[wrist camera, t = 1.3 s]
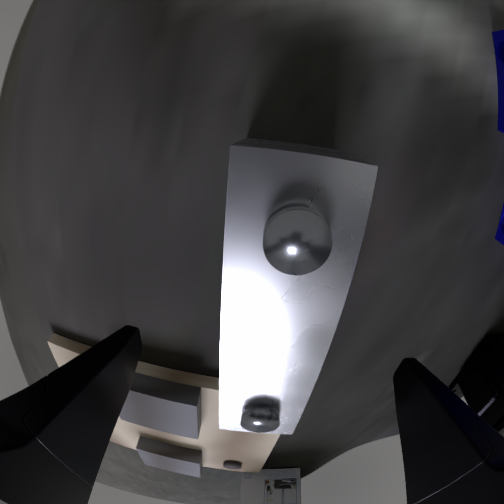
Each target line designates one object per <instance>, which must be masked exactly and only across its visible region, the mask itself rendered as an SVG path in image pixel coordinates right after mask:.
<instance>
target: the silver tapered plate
mask: <svg viewBox="0 0 504 504" xmlns="http://www.w3.org/2000/svg"><path fill="white" fill-rule="evenodd" d="M377 170H378V166H376V165H374V164H371V163H369V162H366V161H364V160H361V159H359V158H356V157H354V156H351V155H349V154H346V153H344V152H341V151H338V150H336V149H331V148H326V147H320V146H313V145H306V144H299V143H292V142H284V141H276V140H266V139H256V138H245V139H243V140H240V141H238V142H236V143H234V144H232V145H230V156H229V169H228V183H227V198H226V214H225V232H224V251H223V272H222V296H221V326H220V370H219V429H224V430H233V431H242V432H253V433H268V434H293V432H294V430H295V428H296V426H297V423H298V421H299V419H300V417H301V415H302V413H303V410H304V408H305V406H306V404H307V401H308V399H309V397H310V395H311V392H312V390H313V387H314V385H315V383H316V380H317V378H318V375H319V373H320V370H321V368H322V365H323V363H324V360H325V358H326V355H327V352H328V350H329V347H330V344H331V341H332V339H333V336H334V333H335V330H336V327H337V324H338V321H339V319H340V316H341V312H342V309H343V306H344V303H345V300H346V297H347V294H348V290H349V287H350V284H351V280H352V277H353V273H354V270H355V266H356V263H357V259H358V255H359V252H360V248H361V244H362V240H363V236H364V232H365V228H366V223H367V219H368V215H369V210H370V206H371V201H372V196H373V191H374V186H375V181H376V175H377Z"/></svg>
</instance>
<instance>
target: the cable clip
mask: <svg viewBox="0 0 504 504" xmlns="http://www.w3.org/2000/svg"><path fill="white" fill-rule="evenodd" d="M492 36H493V42H494V49H495V57H496V67H497V80H498V130H499V131H501V132H503V133H504V30H500V31H495V32H492ZM495 239H496V240H497V241H499V242H500V243H502V244H503V245H504V204H503V209H502V213H501V217H500V221H499V225H498V229H497V233H496V236H495Z"/></svg>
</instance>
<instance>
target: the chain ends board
mask: <svg viewBox="0 0 504 504" xmlns="http://www.w3.org/2000/svg"><path fill="white" fill-rule="evenodd" d="M47 342H48V344H49V347H50V349H51V351H52V353H53V356H54V358H55V360H56V362H57V364H58V366H59V367H61V366H62V365H64V364H65V363H67V362H69V361H70V360H72V359H73V358H75V357H77V356H78V355H80V354H81V353H83V352H84V351H86V350H88V349H89V348H91V346H88V345H85V344H82V343H79V342H76V341H73V340H71V339H68V338H65V337H63V336H60V335H58V334H55V333H53V334H52V336H51V337H50V338H49V340H48V341H47ZM279 436H280V434H268V433H253V432H242V431H233V430H224V429H219V378H217V377H211V376H205V375H199V374H194V373H189V372H184V371H179V370H174V369H170V368H165V367H161V366H157V365H153V364H149V363H145V362H141V361H138V364H137V368H136V371H135V374H134V378H133V381H132V385H131V388H130V391H129V393H128V396H127V398H126V401H125V403H124V406H123V408H122V410H121V413H120V415H119V418H118V420H117V423H116V425H115V428H114V430H113V433H112V436H111V438H110V441H112V442H114V443H117V444H120V445H123V446H126V447H129V448H132V449H135V450H137V451H138V453H139V455H140V457H141V458H142V460H143V462H144V463H145V464H146V465H149V466H153V467H156V468H160V469H164V470H168V471H172V472H176V473H181V474H185V475H190V476H195V477H201V472H202V466H205V467H211V468H217V469H225V470H232V471H241V472H252V473H259V472H260V470H261V469H262V467H263V465H264V463H265V462H266V460H267V458H268V456H269V455H270V453H271V451H272V449H273V447H274V445H275V444H276V442H277V440H278V438H279Z"/></svg>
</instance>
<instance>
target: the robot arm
mask: <svg viewBox="0 0 504 504" xmlns="http://www.w3.org/2000/svg"><path fill="white" fill-rule="evenodd" d="M141 351H142V343H141V337H140V331H139V329H138V328H137V327H134V326H130V325H126V326H124V327H123V328H121V329H119V330H118V331H116V332H115V333H113V334H111V335H110V336H108V337H107V338H105V339H103V340H102V341H100V342H99V343H97V344H96V345H94V346H92V347H91V348H89V349H88V350H86V351H84V352H83V353H81V354H80V355H78V356H77V357H75V358H73V359H72V360H70V361H69V362H67V363H65V364H64V365H62V366H61V367H59V368H58V369H56V370H54V371H53V372H51V373H50V374H48V376H45V377H43V378H42V379H40V380H38V381H37V382H35V383H33V384H32V385H30V386H28V387H27V388H25V389H23V390H21V391H19V392H17V393H15V394H13V395H11V396H9V397H7V398H5V399H3V400H1V401H0V504H88V500H89V497H90V494H91V491H92V487H93V485H94V482H95V479H96V476H97V473H98V471H99V468H100V465H101V462H102V459H103V457H104V454H105V451H106V449H107V446H108V443H109V441H110V438H111V436H112V433H113V430H114V428H115V425H116V423H117V420H118V418H119V415H120V413H121V410H122V408H123V406H124V403H125V401H126V398H127V396H128V393H129V391H130V388H131V385H132V381H133V378H134V374H135V371H136V368H137V364H138V361H139V358H140V354H141ZM393 382H394V392H395V404H396V415H397V421H398V427H399V433H400V439H401V446H402V454H403V462H404V471H405V481H406V494H407V504H504V334H494V335H488V336H487V337H486V338H485V339H484V341H483V342H482V344H481V345H480V347H479V348H478V350H477V351H476V353H475V354H474V356H473V357H472V359H471V360H470V361H469V363H468V364H467V366H466V367H465V368H464V370H463V371H462V372H461V374H460V375H459V376H458V378H457V379H456V380H455V381H454V383H453V384H452V385H451V386H450V388H448V387H447V386H446V385H445V384H444V383H443V382H441V381H440V380H439V379H438V378H437V377H436V376H435V375H434V374H432V373H431V372H430V371H429V370H428V369H427V368H426V367H425V366H423V365H422V364H421V363H420V362H419V361H418V360H417V359H415V358H404V359H403V360H402V362H401V363H400V365H399V366H398V368H397V370H396V371H395V373H394V376H393ZM459 393H462V394H463V396H464V398H465V400H466V402H467V404H468V405H467V404H466V403H465V402H464V401H463V400H461V399H460V398H459V397H458V396H457V395H456V394H459Z"/></svg>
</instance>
